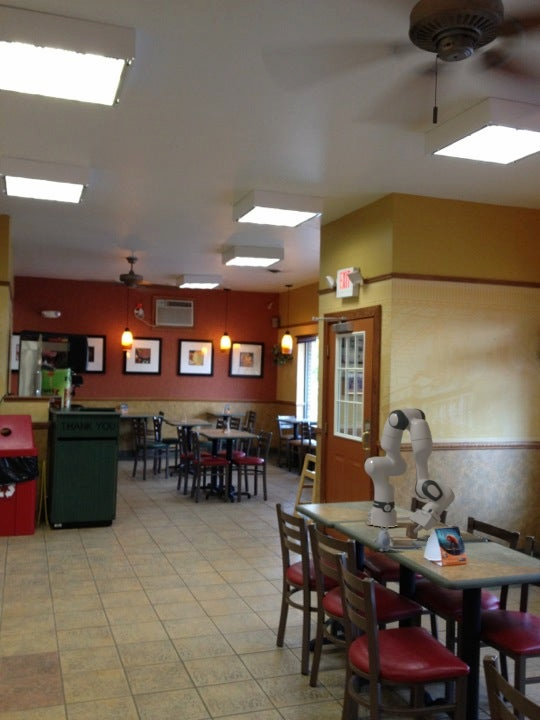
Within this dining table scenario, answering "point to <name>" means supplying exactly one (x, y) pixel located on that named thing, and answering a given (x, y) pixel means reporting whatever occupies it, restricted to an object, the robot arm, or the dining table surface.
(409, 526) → the walnut pillar
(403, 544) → the oak pedestal
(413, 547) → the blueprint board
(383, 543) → the toy figure
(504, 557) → the dining table surface
